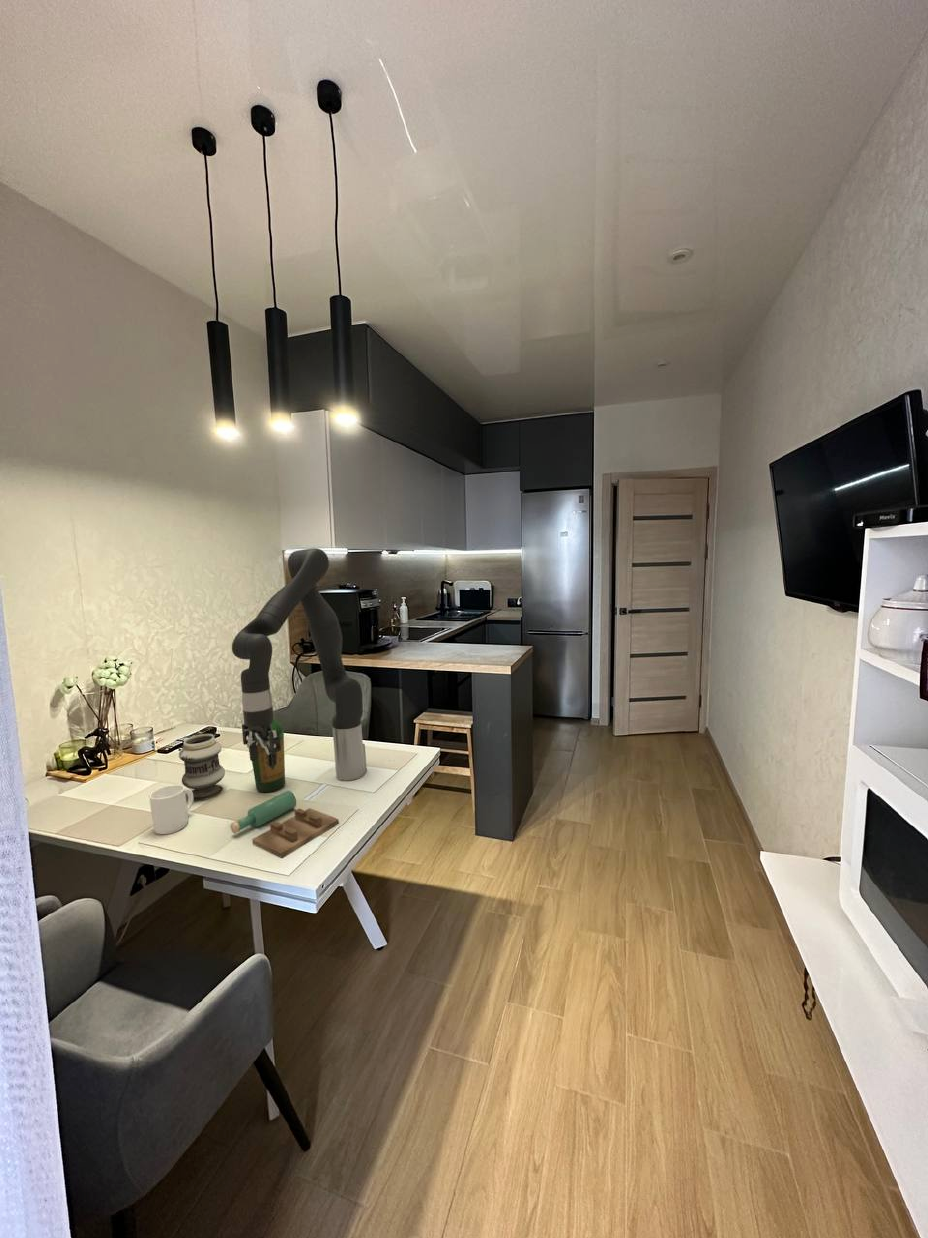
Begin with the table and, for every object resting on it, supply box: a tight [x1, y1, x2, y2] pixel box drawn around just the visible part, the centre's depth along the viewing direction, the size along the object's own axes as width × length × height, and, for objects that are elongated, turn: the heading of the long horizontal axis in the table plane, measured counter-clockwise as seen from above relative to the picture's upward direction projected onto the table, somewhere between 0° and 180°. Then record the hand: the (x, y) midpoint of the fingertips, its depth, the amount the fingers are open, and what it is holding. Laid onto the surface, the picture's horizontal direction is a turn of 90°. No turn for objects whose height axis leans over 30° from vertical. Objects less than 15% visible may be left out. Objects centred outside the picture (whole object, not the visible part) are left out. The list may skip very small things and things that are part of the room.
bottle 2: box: [229, 790, 297, 834], centre depth 137 cm, size 18×5×5 cm, turn 146°
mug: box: [148, 784, 194, 835], centre depth 138 cm, size 12×8×10 cm
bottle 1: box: [247, 719, 286, 793], centre depth 157 cm, size 11×11×28 cm
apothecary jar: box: [178, 733, 226, 802], centre depth 155 cm, size 12×12×18 cm
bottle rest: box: [251, 807, 340, 859], centre depth 131 cm, size 18×12×4 cm, turn 146°
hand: (263, 763), depth 137 cm, fingers open, 8 cm apart
